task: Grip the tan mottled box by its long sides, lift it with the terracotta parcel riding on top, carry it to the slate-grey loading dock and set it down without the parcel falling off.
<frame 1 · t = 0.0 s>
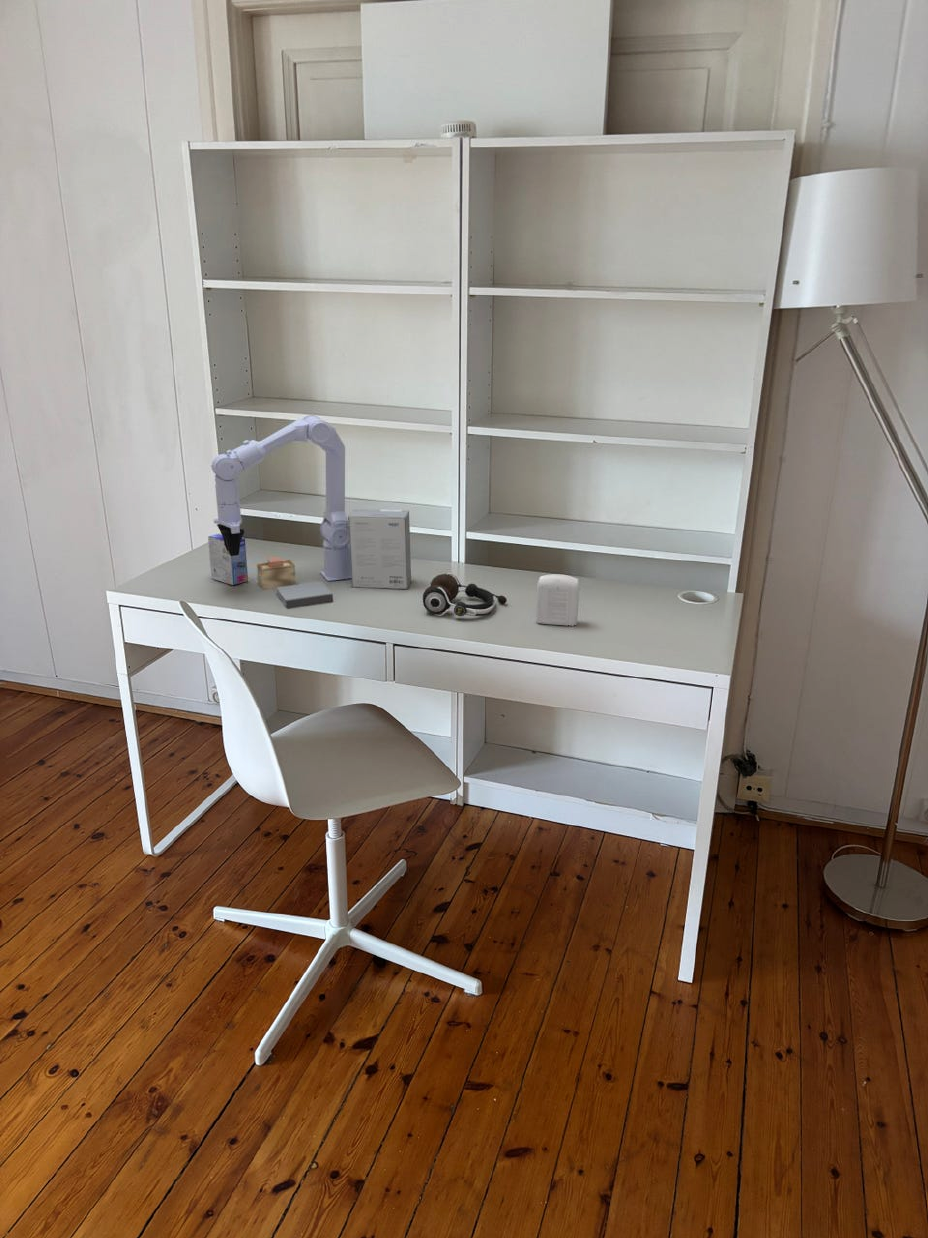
hand: (232, 552, 236), 10 cm above the table, tool pointing down, fingers open, 4 cm apart
tan mottled box: (277, 584, 244), on the table, touching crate
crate: (275, 566, 242), point 5 cm above the table, touching tan mottled box
dock: (304, 597, 235), on the table
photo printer: (556, 623, 220), on the table
headset: (463, 609, 229), on the table
ink cartridge box: (230, 580, 246), on the table, touching gripper
hard drive box: (381, 584, 245), on the table
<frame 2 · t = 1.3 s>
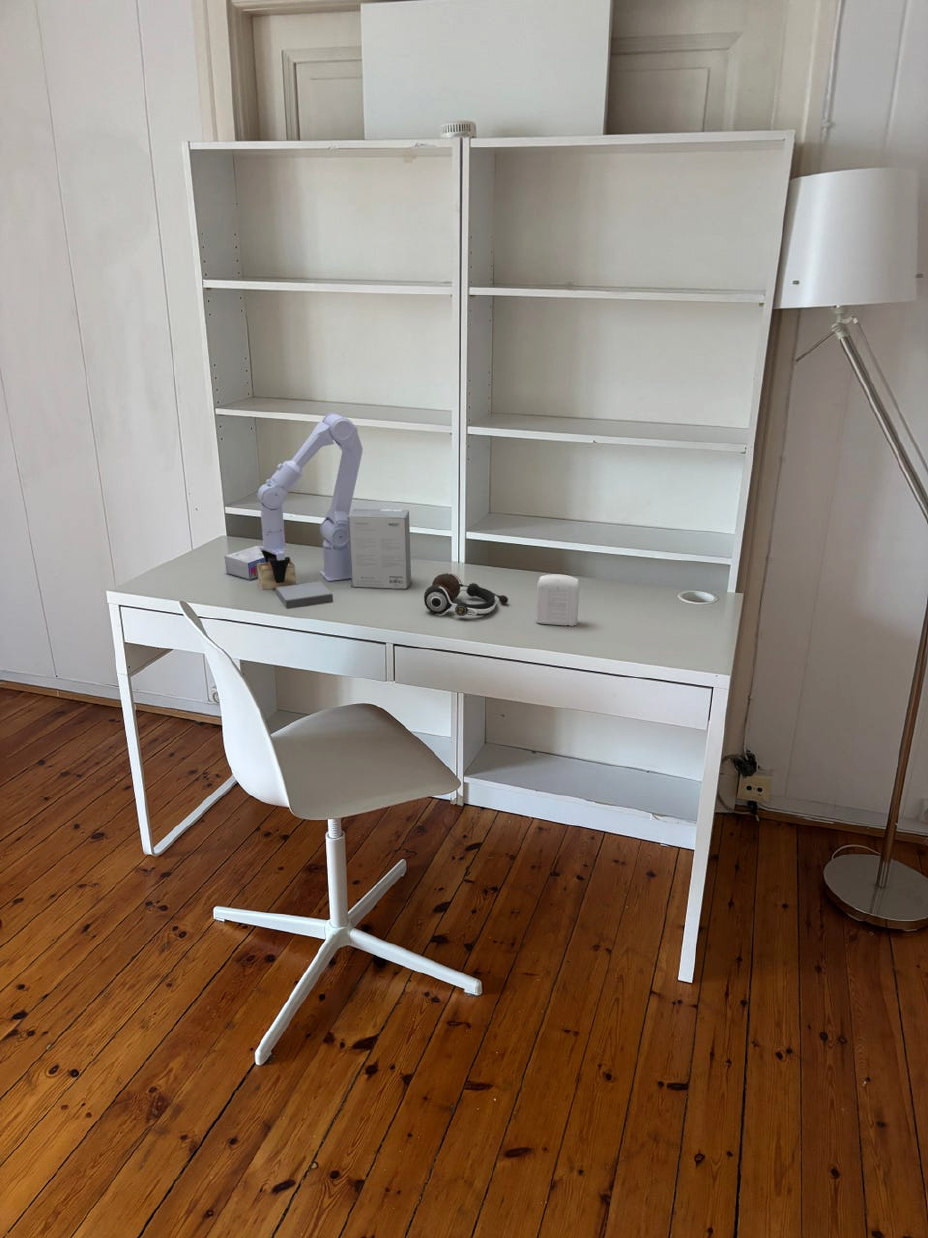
hand: (276, 577, 243), 2 cm above the table, tool pointing down, fingers open, 7 cm apart
tan mottled box: (277, 584, 244), on the table
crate: (276, 566, 242), point 5 cm above the table
ink cartridge box: (236, 568, 247), point 3 cm above the table
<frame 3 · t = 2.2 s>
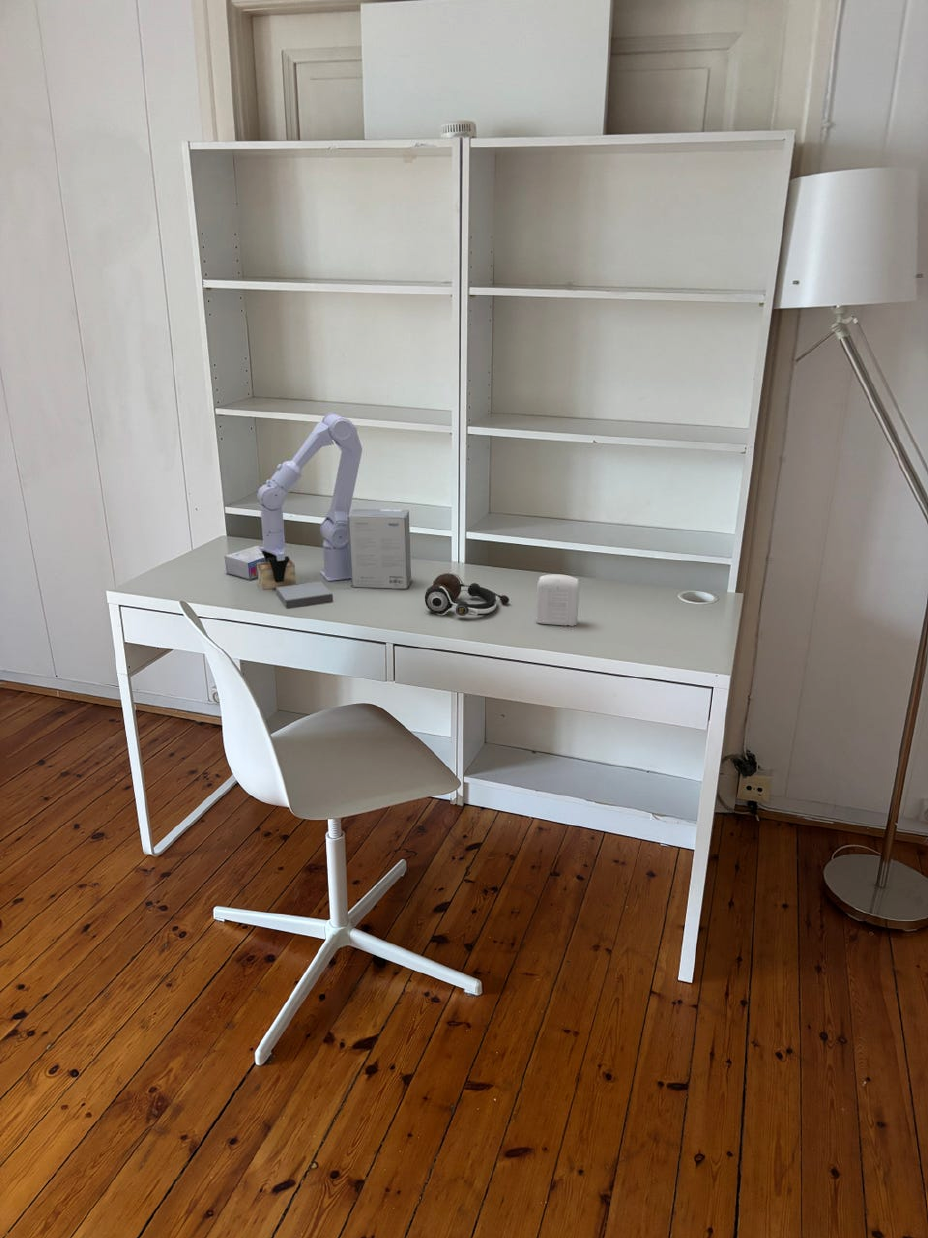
hand: (276, 578, 243), 2 cm above the table, tool pointing down, fingers closed on tan mottled box, 5 cm apart
tan mottled box: (277, 584, 244), on the table, touching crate, gripper
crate: (275, 565, 242), point 5 cm above the table, touching tan mottled box
hard drive box: (381, 584, 245), on the table, touching arm
everything else where it was.
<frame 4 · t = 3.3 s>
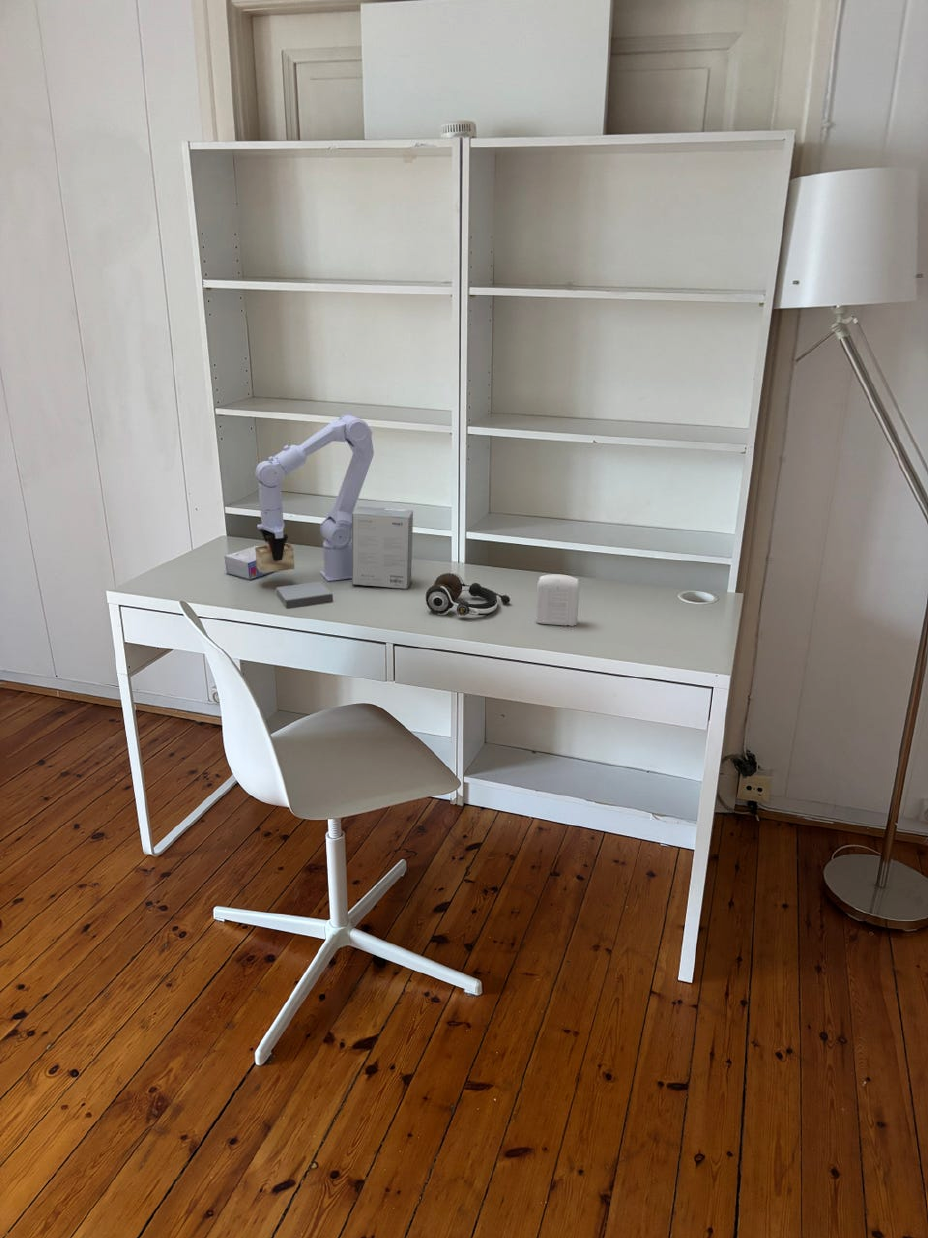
hand: (275, 556, 241), 8 cm above the table, tool pointing down, fingers closed on tan mottled box, 5 cm apart
tan mottled box: (275, 568, 242), point 5 cm above the table, touching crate, gripper
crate: (274, 549, 240), point 10 cm above the table, touching tan mottled box
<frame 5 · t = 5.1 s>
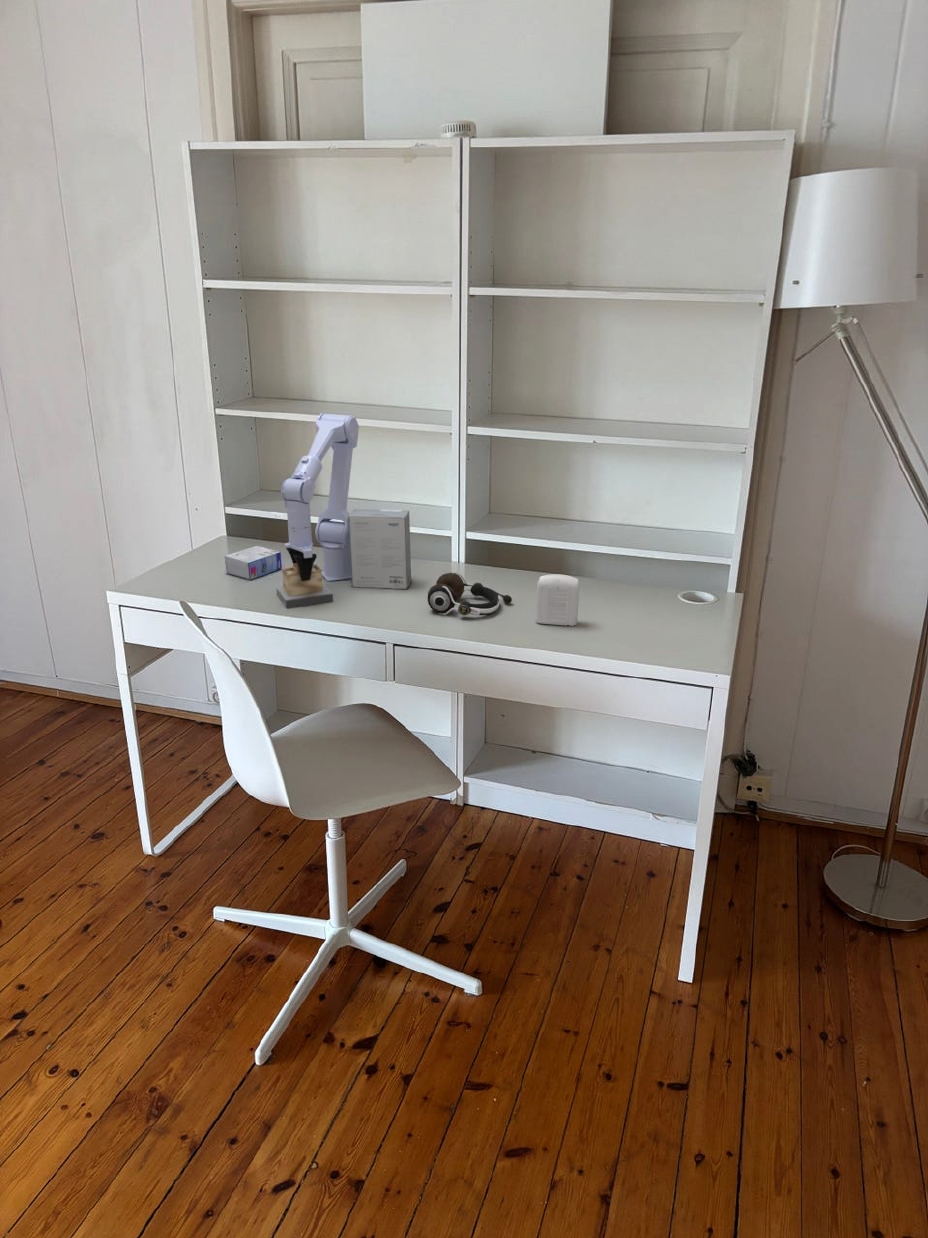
hand: (302, 576, 232), 6 cm above the table, tool pointing down, fingers open, 5 cm apart
tan mottled box: (303, 590, 234), point 2 cm above the table, touching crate, dock, gripper
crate: (301, 571, 231), point 7 cm above the table, touching tan mottled box
hard drive box: (381, 584, 245), on the table
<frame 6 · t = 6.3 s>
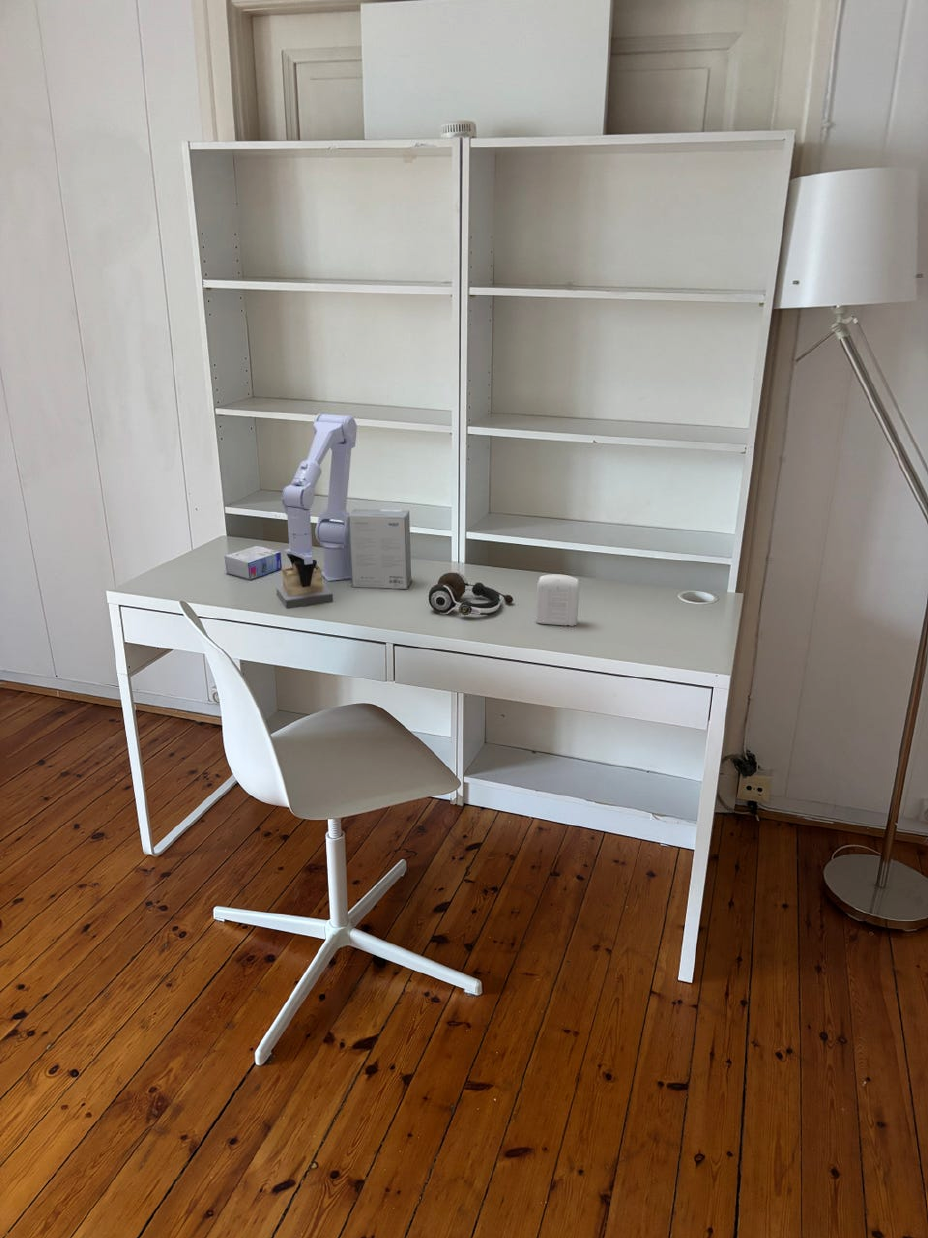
hand: (303, 582, 233), 4 cm above the table, tool pointing down, fingers closed on tan mottled box, 5 cm apart
tan mottled box: (303, 590, 234), point 2 cm above the table, touching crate, dock, gripper
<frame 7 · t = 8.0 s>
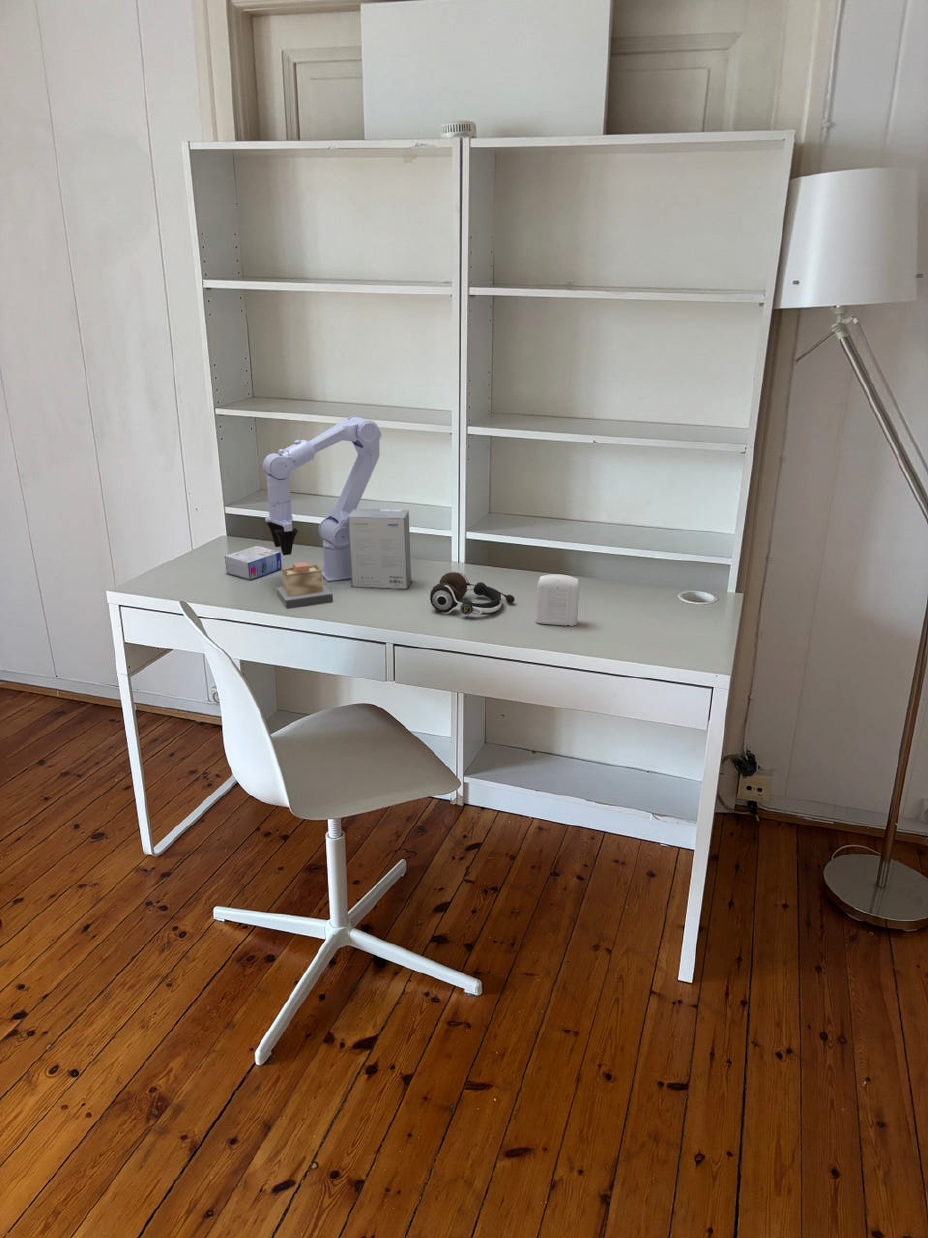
hand: (283, 550, 239), 10 cm above the table, tool pointing down, fingers open, 7 cm apart
tan mottled box: (303, 590, 234), point 2 cm above the table, touching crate, dock
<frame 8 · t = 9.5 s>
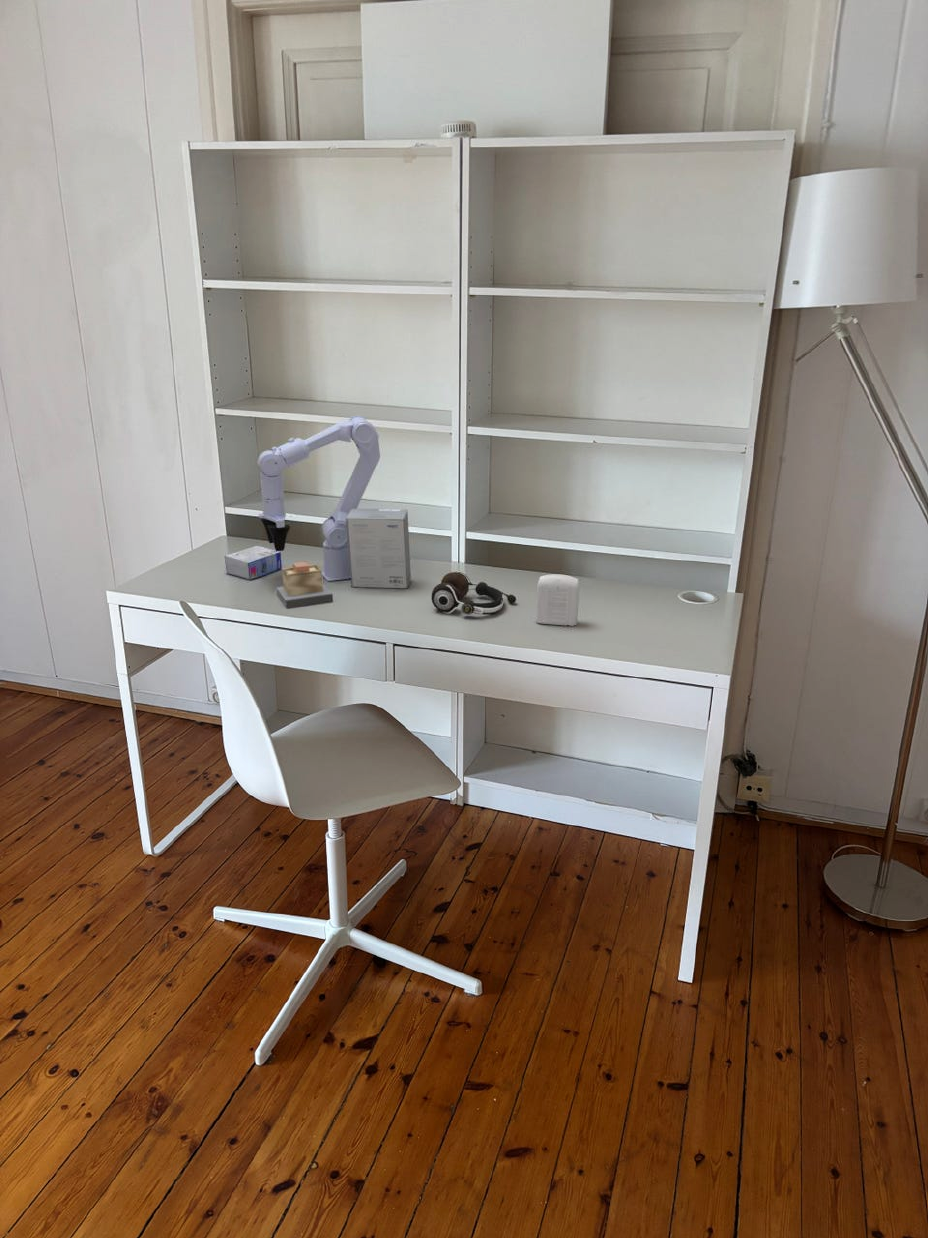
hand: (276, 546, 242), 10 cm above the table, tool pointing down, fingers open, 7 cm apart
hard drive box: (381, 582, 245), on the table, touching arm
at the end: tan mottled box inside the target area on the dock (0.2 cm from its centre), point 2.0 cm above the dock's base; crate 0.2 cm off-centre on the tan mottled box, point 5.2 cm above the tan mottled box's base; the gripper is holding nothing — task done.
